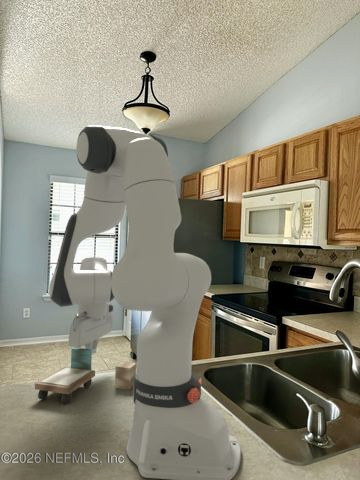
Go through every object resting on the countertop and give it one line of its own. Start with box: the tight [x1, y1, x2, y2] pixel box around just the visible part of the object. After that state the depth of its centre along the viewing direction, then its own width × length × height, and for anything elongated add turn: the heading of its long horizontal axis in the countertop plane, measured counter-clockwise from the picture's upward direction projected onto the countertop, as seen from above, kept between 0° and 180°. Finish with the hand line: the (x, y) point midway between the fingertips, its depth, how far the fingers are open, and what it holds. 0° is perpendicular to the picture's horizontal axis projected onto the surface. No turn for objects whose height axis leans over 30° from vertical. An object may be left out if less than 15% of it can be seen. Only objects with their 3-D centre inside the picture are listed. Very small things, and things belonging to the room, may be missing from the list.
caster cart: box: [34, 347, 96, 404], centre depth 92 cm, size 10×14×10 cm
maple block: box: [114, 361, 137, 390], centre depth 98 cm, size 4×4×6 cm
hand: (91, 354), depth 104 cm, fingers closed
